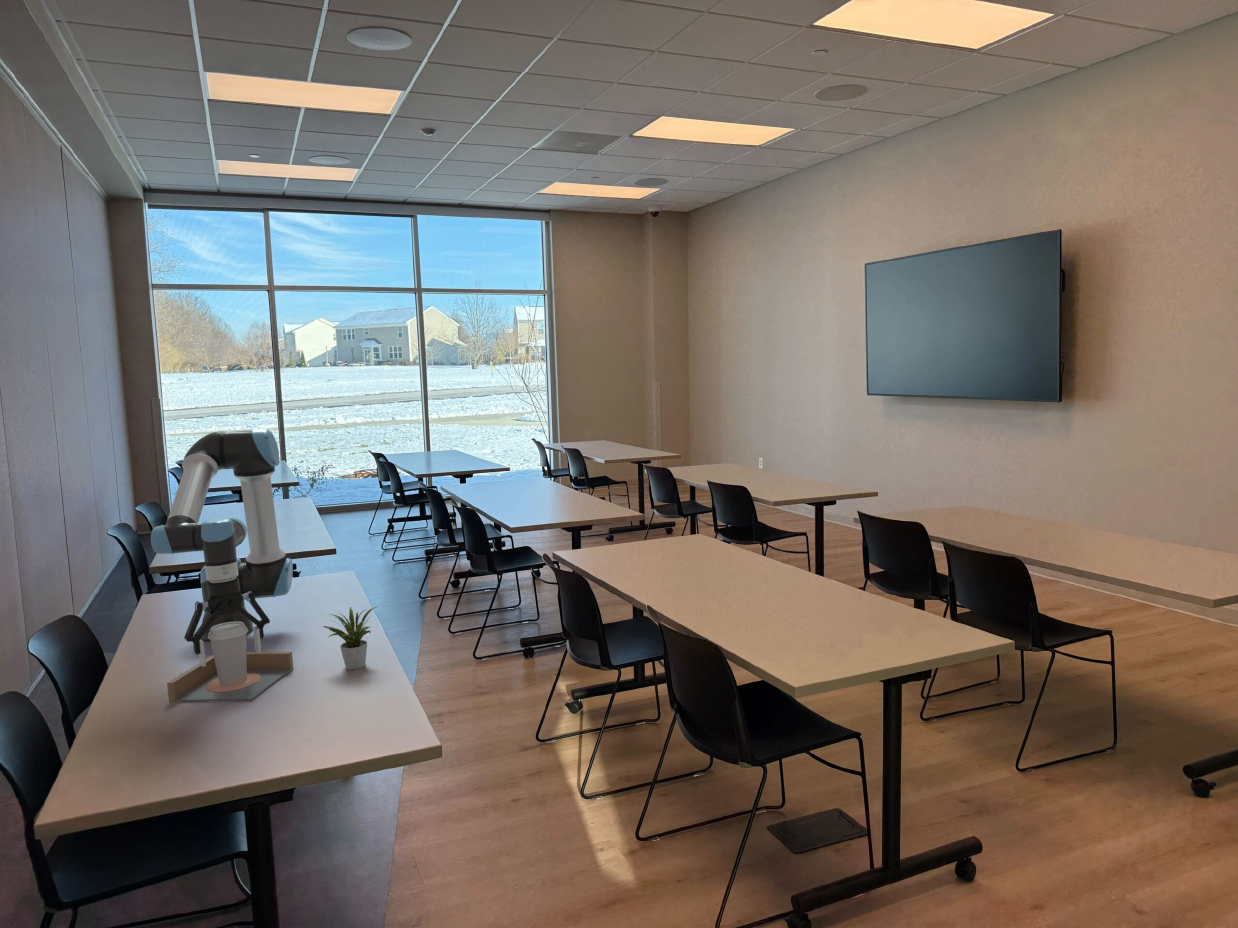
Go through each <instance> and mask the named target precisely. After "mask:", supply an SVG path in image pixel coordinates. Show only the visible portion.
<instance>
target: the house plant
mask: <svg viewBox="0 0 1238 928" xmlns="http://www.w3.org/2000/svg"><path fill="white" fill-rule="evenodd" d="M374 609H377V606H376V607H372V608H369V610H368V611H367V609H364V610H362V611H361V612H360V613H359V612H358V611H357V612H356V613H355V617H354V611H353V609H352V607H351V606H350V607H349V611H348V613H349V615H348V618H347V617H346V616H345V615H343V614H342V613H340V612H338V614H340V615H341V616H342V617H341V616H339V615H336V614H331V613H329V614H328V615H330V616H332V617H333V618H334V619H337V620H338V621H340V622H341V625H340V627H341V628H342V629H344V630H345V631H346V632H344V631H343V630H341V629H339V628H335V627H333V626H327V625H325V626H324V625H323V626H322V627H323V628H325V629H328V630H329V631H331V632H332V634H330V635H328V638H330V637H331V636H332V637H333V636H339V637H340V638H342V639H343V640H344V642H343V643H341V644H340V645H339V646H340V652H341V655H342V659H343V662H344V666H345V669H346V668H347V670H359V669H362V668H364V667H365V666H366V662H367V649H368V648H367V647H368V641H367V640H365V639H362V638H363V637H364V636H365V635H367V634H368V633H369V634H370V635H371V634H372V631H371V630H369V629H371V626H365V625H366V623H367V622H368V621H369V619H370V618H371V616H369V617H368V615H369V614H370V613H371V612H372V611H373V610H374ZM366 611H367V612H366ZM363 612H366V613H365V614H364V615H363V616H362V618H361V621H359V619H360V617H361V615H362V613H363ZM367 617H368V618H367ZM366 618H367V620H366ZM344 619H345V620H344ZM348 619H349V620H348ZM365 620H366V621H365ZM330 621H332V622H334V623H336V624H337V625H339V623H338V622H336V621H334V620H332V619H330ZM358 622H359V623H358Z"/></svg>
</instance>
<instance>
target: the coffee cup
mask: <svg viewBox="0 0 1238 928" xmlns="http://www.w3.org/2000/svg"><path fill="white" fill-rule="evenodd" d="M247 632H248V628H247V627H246V626H245V624H244V623H243V622H226V623H222V624H218V625H215V626H213V627H212V628H211V629H210V632H209V634H208V639H210V641H209V642H210V646H211V649H212V655H214V660H215V665H216V669H217V674H218V679H219V684H220V685H221V686H234V685H238V684H241V683H243V682H245V681H246V680H247V652H248V651H247V650H248V649H247V646H248V645H247V640H248V639H247V637H248V636H247V635H248V634H247Z"/></svg>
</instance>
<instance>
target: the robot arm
mask: <svg viewBox="0 0 1238 928" xmlns="http://www.w3.org/2000/svg"><path fill="white" fill-rule="evenodd" d="M279 464H280V451H279V447H278V443H277V440H276V438H275V435H274V434H273V432H272V431H270V430H269V429H266V428H263V429H261V428H259V429H258V428H249V429H248V428H247V429H246V428H245V429H236V430H218V431H214V432H211V433H207V434H206V435H204V436H202V437H201V438H199V439H198V440H197V441H196V442H194V443H193V444H192V446H190V448H189V449H188V450H187V452H186V453H185V454H184V457H183V459H182V463H181V467H182V470H183V472H182V475H181V478H180V481H179V483H178V487H177V490H176V493H175V497H174V500H173V501H172V504H171V508H170V511H169V514H168V517H167V520H166V523H165V525H164V524H161V525H158V526H155V527H153V529H152V530H151V533H150V542H151V547H152V550H153V551H154V553H155V554H157V555H158V554H159V555H165V554H167V555H174V554H182V553H193V552H203V558H204V559H203V560H204V566H203V567H202V568H201V570H200V571H199V572H200V573H199V574H200V581H199V582H200V585H201V593H202V601H201V602H200V601H197V600H196V601H195V603H194V612H193V614H192V617H191V620H190V621H189V624H188V627H187V629H186V632H185V634H184V637H183V638H184V640H185V641H187V642H189V643H192V644H193V645H192V646H193V651H194V654H195V655H198V657H199V658H198V659H199V663H200V665H201V666H202V667H204V666H206V662H205V660H206V654H205V646H204V641H209V642H211V641H210V639H208V634H209V632H210V629H211V628H212V627H213V626H215V625H218V624H222V623H226V622H243V623H244V624H245V626H246V627H247V628H248V632H247V635H248V634H250V633H251V632H253V638H254V639H253V640H254V648H255V649H254V650H255V652H258V653H260V652H263V651H262V643H261V640H264V637H265V634H264V627H265V626H266V625H267V624H270V622H271V620H270V619H269V617H268V616H267V614H266V613H265V611H264V610H263V609H262V607H261V606H260V604H259V603H258V602H257V601H256V599H262V598H263V599H264V598H276V597H281V596H286V595H288V593H290V590H291V588H292V582H293V570H294V569H293V568H294V566H293V560H292V558H290V557H286V552H285V551H284V550H282V549H281V548H280V542H279V535H278V526H277V518H276V512H275V510H276V509H275V501H274V494H273V493H274V492H273V486H272V478H271V477H272V475H273V474H274V473H275V471H276V469H275V467H277V466H278V465H279ZM220 470H233V475H234V477H235V478H237V479H238V480H239V481H240V487H241V496H242V502H243V510H244V516H245V518H244V519H245V523H244V522H243V521H242V520H240V519H238V518H234V517H233V518H232V517H231V518H228V517H227V518H226V517H224V518H223V517H219V518H212V519H208V520H204V521H203V522H199V521H200V518H201V515H202V511H203V508H204V505H205V501H206V499H207V494H208V492H209V488H210V486H211V485H210V484H211V482H212V479H213V478H214V477H215V476H216V475H217V474H218V471H220ZM245 538H247V539H248V546H249V553H248V554H247V556H246V558H245V562H242V560H241V559H240V558H239V557H237V547H238V546H240V545H241V544H243V542H244V540H245ZM245 601H247V602H248V603H249V604H250V606H251V607H252V608H253V610H254V611H255V612H256V614H257V615H258V617H259V618H260V620H259V619H257V618H256V617H255V616H253V615H252V614H251V613H250V612H248V610H247V609H246V605H245ZM202 615H203V617H202ZM201 618H202V622H201V624H200V625H199V622H200V621H201ZM198 625H199V627H198ZM254 625H255V626H254ZM197 627H198V628H197Z"/></svg>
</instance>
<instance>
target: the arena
mask: <svg viewBox="0 0 1238 928" xmlns="http://www.w3.org/2000/svg"><path fill="white" fill-rule="evenodd" d="M293 661H294V660H293V651H262V652H260V653H258V652H257V651H249V652H248V651H247V680H246V681H245V682H243V683H241V684H238V685H234V686H221V685H220V684H219V679H218V674H217V669H216V665H215V660H214V655H213V654H212V655H210V656H209V657H207V658H205V662H206V666H204V667H202V666H201V665H200V662H199V663H198V664H196V665H194V666H192V667H191V668H188V670H186V671H185V672H183V673H181V674H179V675H178V676H176V677H174V678H173V679H170V680H169V681H168V682H166V685H167V696H168V702H169V703H200V702H201V703H202V702H203V703H204V702H206V703H208V702H209V701H211V703H212V701H224V702H253V701H254V700H256V699H257V698H258V697H259V696H260V695H262V694H263V693H265V692H267V690H269V689H270V688H271V687H272V686H274V685H275V684H277V683H278V682H279V681H280V680H281V679H283V678H285V676H287V675H288V674H290V671H291V672H292V671H294V662H293Z"/></svg>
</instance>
